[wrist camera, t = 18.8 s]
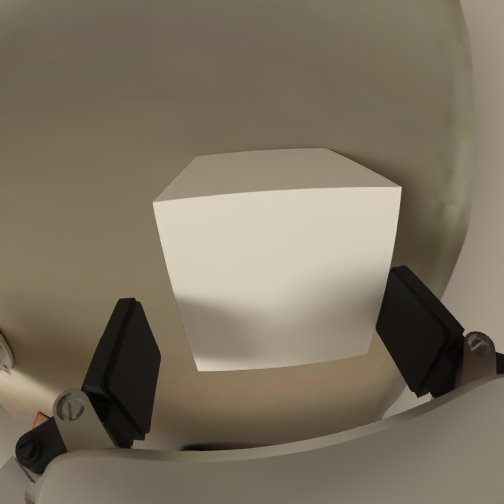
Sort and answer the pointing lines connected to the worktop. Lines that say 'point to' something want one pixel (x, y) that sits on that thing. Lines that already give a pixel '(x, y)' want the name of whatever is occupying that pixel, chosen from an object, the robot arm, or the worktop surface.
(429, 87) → the worktop surface
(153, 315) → the worktop surface
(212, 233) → the white sugar cube
